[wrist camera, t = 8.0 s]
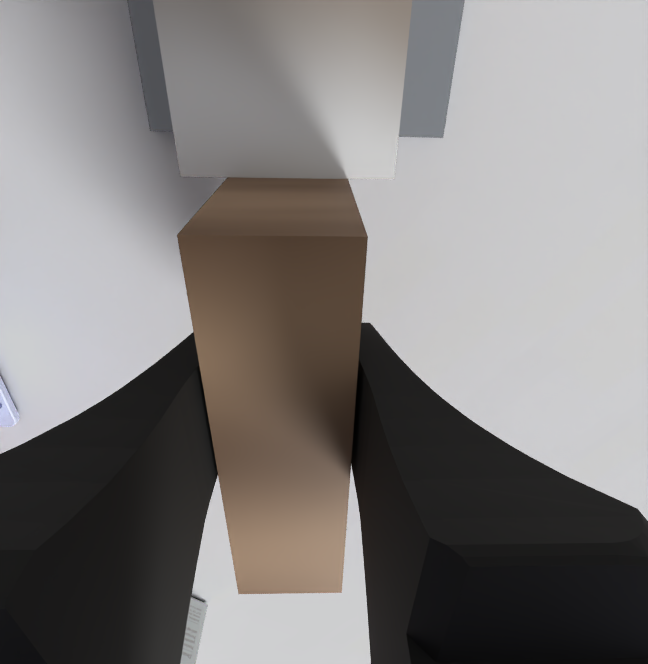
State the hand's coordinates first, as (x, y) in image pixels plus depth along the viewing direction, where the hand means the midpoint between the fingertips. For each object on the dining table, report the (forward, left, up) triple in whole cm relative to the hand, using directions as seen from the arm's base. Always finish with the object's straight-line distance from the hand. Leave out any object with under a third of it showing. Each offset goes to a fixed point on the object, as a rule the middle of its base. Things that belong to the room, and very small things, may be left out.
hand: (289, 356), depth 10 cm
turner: (+2, 0, -2) cm, 3 cm away
